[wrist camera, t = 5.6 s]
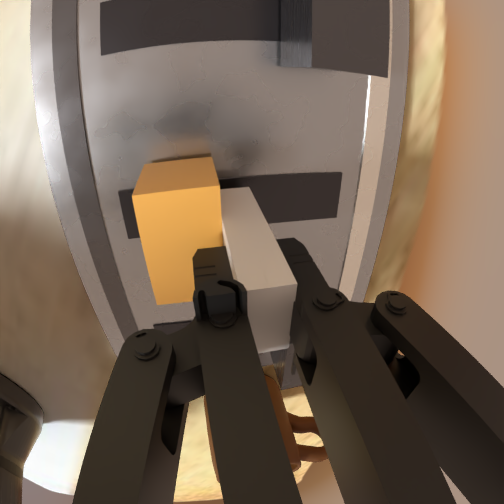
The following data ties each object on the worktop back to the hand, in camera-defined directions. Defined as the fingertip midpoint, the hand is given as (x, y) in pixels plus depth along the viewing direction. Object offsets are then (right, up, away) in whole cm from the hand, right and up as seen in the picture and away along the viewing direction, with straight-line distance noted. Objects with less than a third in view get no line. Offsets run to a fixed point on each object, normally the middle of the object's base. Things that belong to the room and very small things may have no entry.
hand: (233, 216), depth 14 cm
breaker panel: (0, +2, +3) cm, 3 cm away
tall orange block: (-2, 0, 0) cm, 2 cm away
